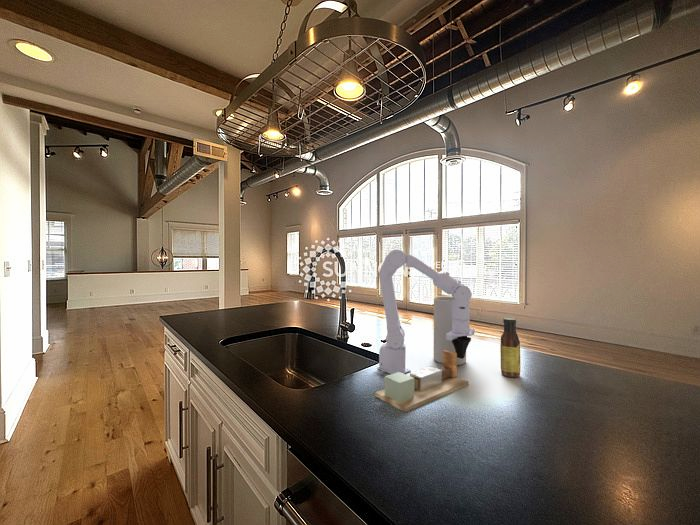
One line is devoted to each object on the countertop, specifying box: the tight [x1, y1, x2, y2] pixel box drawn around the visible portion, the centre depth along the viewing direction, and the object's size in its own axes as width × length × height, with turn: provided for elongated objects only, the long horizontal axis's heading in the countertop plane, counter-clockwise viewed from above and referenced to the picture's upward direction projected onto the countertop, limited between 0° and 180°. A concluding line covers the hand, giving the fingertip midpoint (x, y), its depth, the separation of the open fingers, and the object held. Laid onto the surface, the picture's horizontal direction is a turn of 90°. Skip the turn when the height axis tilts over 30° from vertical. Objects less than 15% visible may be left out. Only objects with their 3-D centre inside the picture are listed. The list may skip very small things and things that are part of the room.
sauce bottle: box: [499, 317, 521, 378], centre depth 109 cm, size 7×6×20 cm
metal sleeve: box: [409, 365, 442, 392], centre depth 96 cm, size 4×10×4 cm, turn 128°
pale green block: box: [384, 372, 414, 402], centre depth 88 cm, size 6×6×5 cm
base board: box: [374, 376, 469, 413], centre depth 95 cm, size 12×30×1 cm, turn 128°
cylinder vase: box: [433, 296, 467, 366], centre depth 124 cm, size 12×12×25 cm
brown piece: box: [413, 350, 458, 388], centre depth 98 cm, size 4×20×8 cm, turn 128°
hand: (460, 357), depth 107 cm, fingers closed
